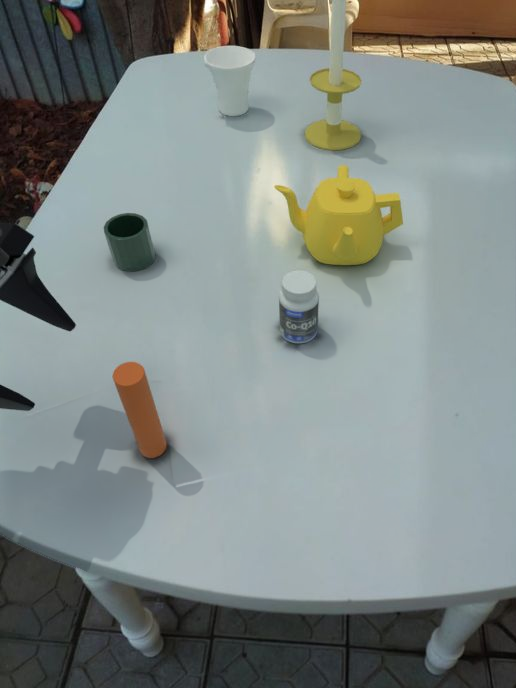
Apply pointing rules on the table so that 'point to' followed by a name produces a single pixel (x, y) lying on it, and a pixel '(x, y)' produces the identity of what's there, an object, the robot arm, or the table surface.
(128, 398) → the orange cylindrical rod
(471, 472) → the table surface
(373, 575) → the table surface
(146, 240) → the green cylindrical container
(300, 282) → the pill bottle
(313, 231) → the teapot
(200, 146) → the table surface
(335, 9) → the candle
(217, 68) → the cup
